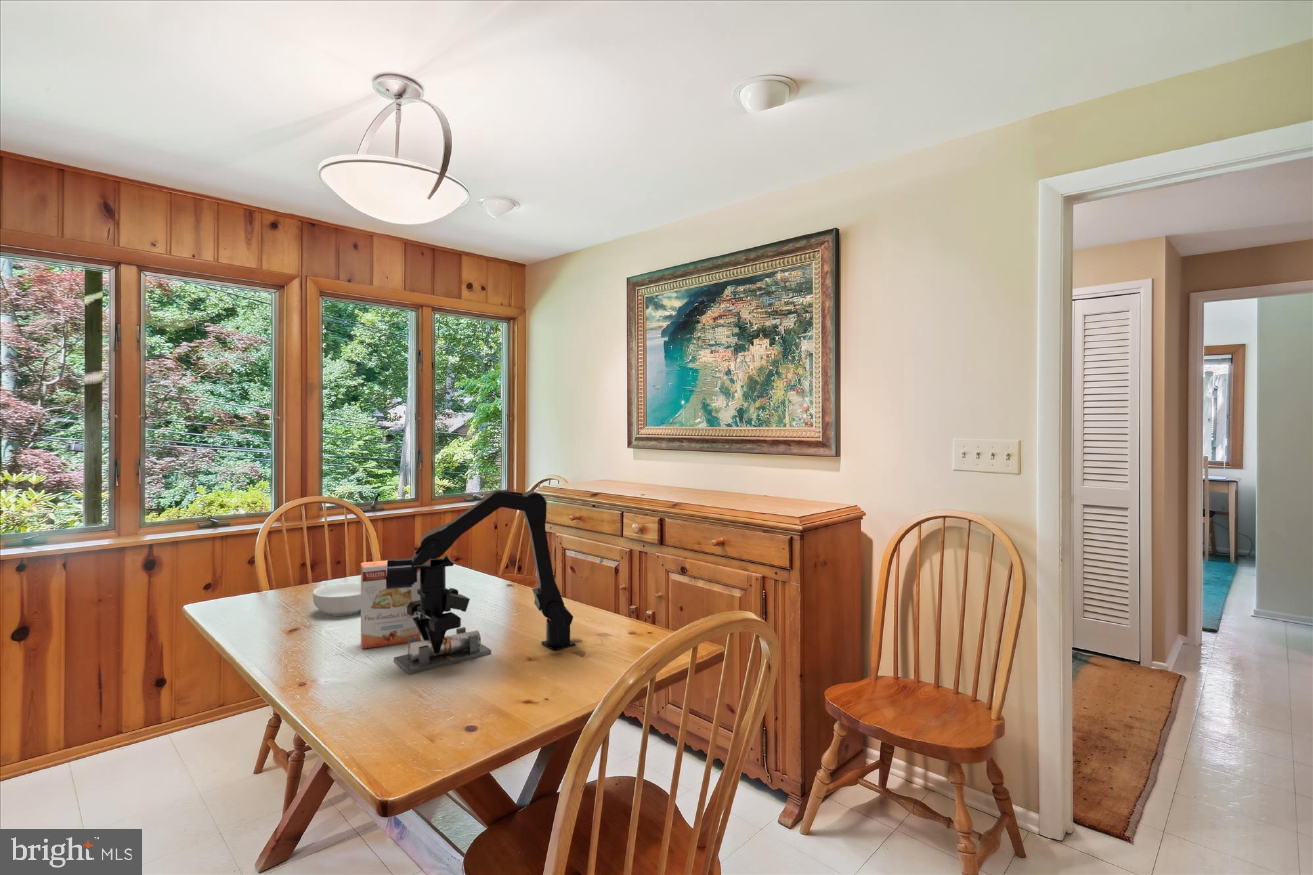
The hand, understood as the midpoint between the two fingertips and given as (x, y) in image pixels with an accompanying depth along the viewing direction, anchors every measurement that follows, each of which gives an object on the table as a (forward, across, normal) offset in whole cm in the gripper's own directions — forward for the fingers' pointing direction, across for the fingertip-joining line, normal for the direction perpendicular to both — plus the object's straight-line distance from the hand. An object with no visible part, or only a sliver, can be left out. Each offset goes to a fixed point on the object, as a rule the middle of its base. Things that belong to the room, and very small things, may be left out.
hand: (433, 650), depth 153 cm
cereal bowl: (+3, +54, +6) cm, 54 cm away
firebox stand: (+2, 0, -2) cm, 3 cm away
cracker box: (+3, +19, +4) cm, 19 cm away
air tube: (+1, -1, -3) cm, 3 cm away
